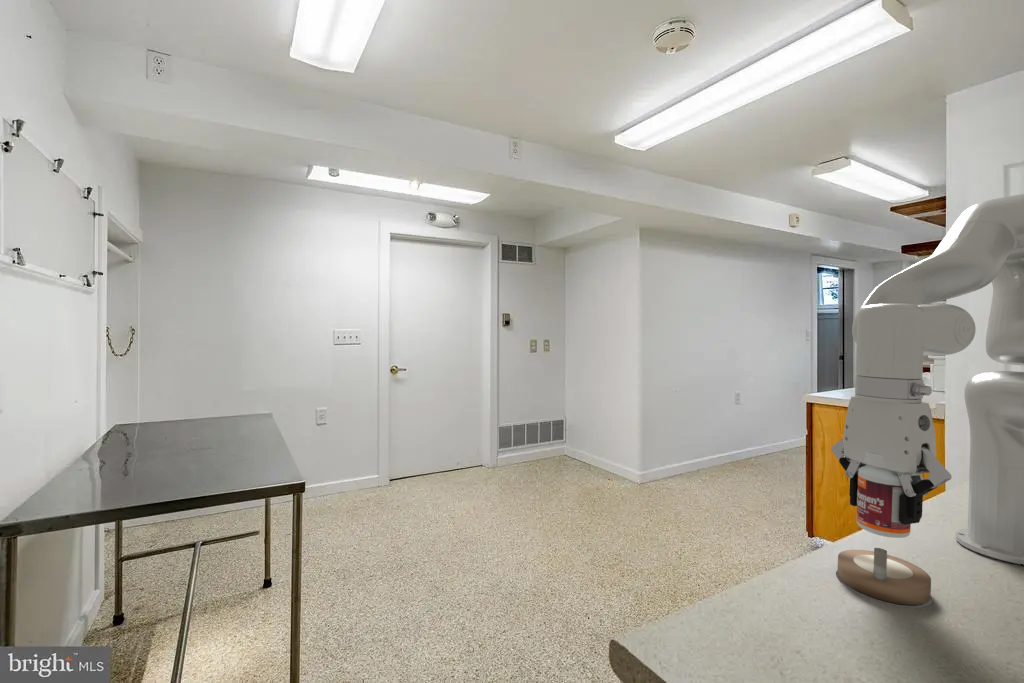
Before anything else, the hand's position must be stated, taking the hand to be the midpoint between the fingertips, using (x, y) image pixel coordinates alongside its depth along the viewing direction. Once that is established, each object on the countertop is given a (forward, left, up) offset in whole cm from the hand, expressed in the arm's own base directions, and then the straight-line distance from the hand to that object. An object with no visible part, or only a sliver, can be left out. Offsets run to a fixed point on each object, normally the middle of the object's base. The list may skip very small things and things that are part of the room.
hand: (883, 512), depth 68 cm
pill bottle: (0, 0, -3) cm, 3 cm away
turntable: (0, 0, -11) cm, 11 cm away
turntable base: (0, 0, -12) cm, 12 cm away
